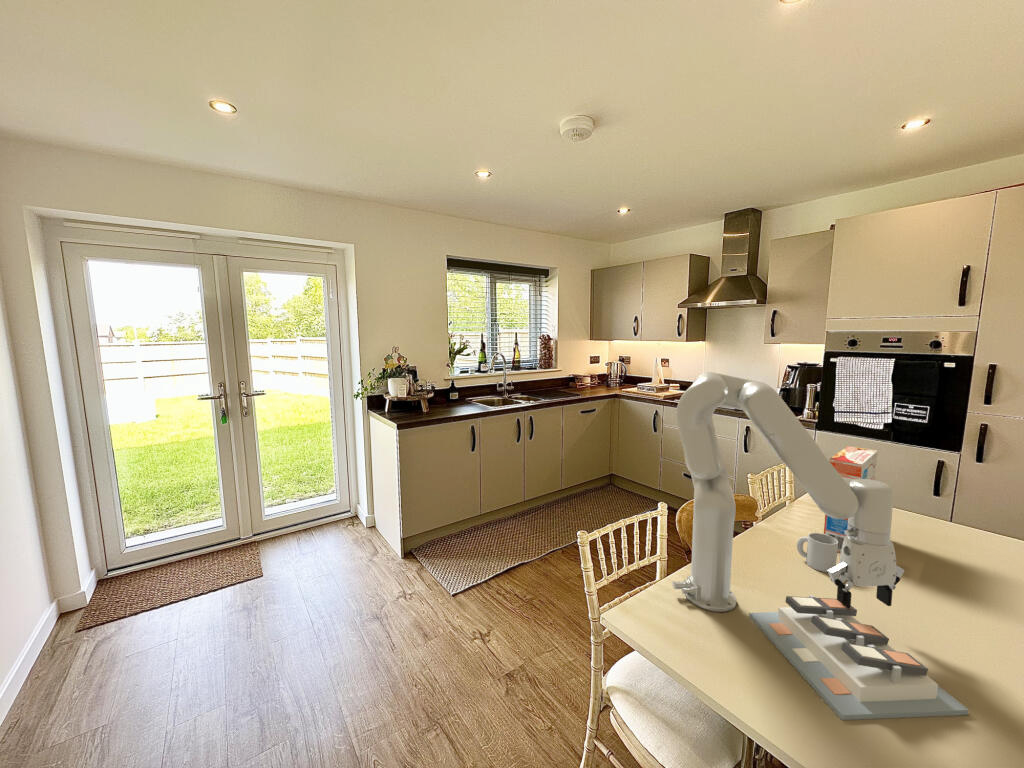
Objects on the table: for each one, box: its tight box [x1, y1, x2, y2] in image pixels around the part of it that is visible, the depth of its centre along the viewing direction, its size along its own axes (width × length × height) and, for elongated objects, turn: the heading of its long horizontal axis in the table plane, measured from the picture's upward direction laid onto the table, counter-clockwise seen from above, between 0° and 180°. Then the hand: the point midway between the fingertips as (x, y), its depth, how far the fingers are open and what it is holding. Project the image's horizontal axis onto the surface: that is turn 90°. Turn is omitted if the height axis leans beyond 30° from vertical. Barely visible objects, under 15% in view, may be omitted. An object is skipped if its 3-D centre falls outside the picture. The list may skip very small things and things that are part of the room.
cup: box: [796, 532, 838, 573], centre depth 126 cm, size 7×10×9 cm
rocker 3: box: [841, 642, 929, 676], centre depth 81 cm, size 14×4×2 cm, turn 92°
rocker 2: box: [811, 616, 890, 645], centre depth 89 cm, size 14×4×2 cm, turn 92°
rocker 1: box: [785, 595, 858, 617], centre depth 97 cm, size 14×4×2 cm, turn 92°
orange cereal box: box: [823, 445, 878, 553], centre depth 139 cm, size 23×8×30 cm, turn 130°
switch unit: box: [748, 595, 970, 721], centre depth 89 cm, size 24×28×7 cm
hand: (863, 603), depth 97 cm, fingers open, 9 cm apart
